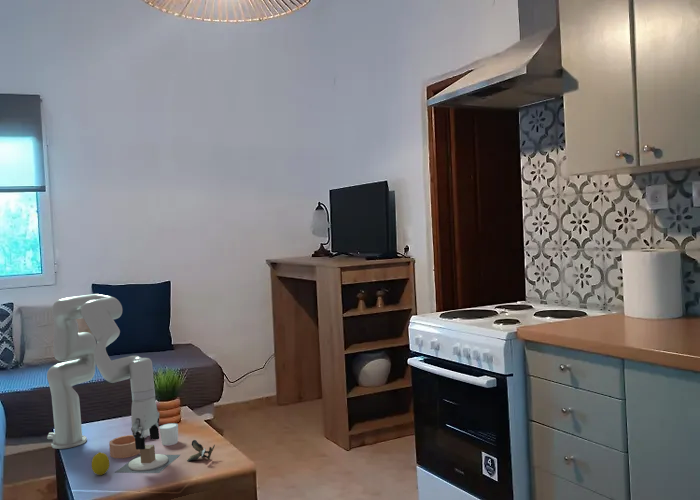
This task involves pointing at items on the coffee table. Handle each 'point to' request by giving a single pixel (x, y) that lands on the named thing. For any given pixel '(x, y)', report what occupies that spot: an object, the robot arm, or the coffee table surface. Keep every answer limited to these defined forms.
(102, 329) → the robot arm
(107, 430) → the coffee table surface
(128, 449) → the bowl
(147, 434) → the geometric ball
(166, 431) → the shot glass
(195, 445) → the eagle figurine
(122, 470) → the mat
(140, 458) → the lid
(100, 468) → the lemon
